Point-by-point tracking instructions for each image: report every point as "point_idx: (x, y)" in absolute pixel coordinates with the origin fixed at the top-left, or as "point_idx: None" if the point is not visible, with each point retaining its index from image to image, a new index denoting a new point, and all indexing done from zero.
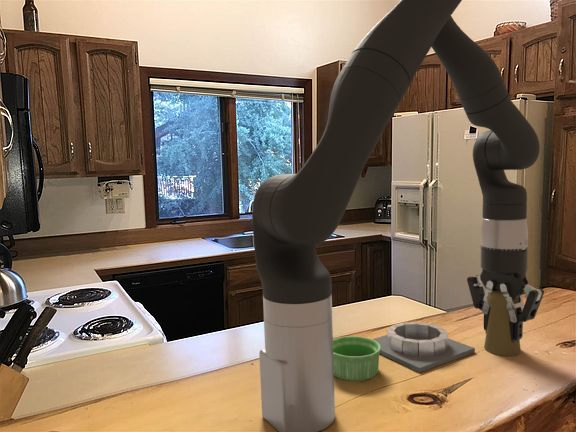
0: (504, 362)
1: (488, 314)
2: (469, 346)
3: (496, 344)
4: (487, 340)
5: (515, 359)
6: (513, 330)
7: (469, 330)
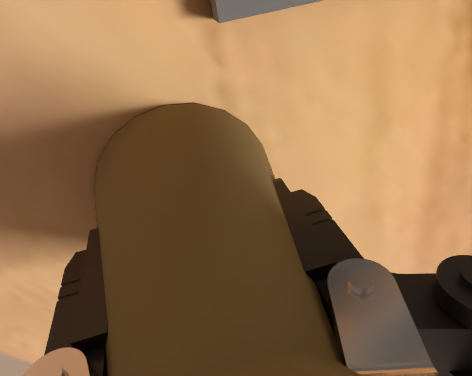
0: (15, 80)
1: (326, 282)
2: (255, 8)
3: (146, 146)
4: (220, 137)
5: (47, 164)
6: (83, 292)
7: (417, 192)
